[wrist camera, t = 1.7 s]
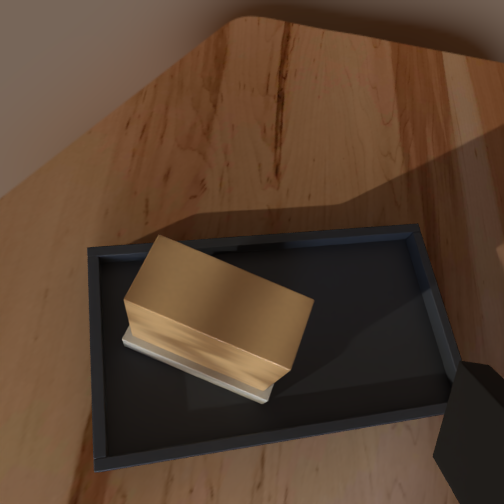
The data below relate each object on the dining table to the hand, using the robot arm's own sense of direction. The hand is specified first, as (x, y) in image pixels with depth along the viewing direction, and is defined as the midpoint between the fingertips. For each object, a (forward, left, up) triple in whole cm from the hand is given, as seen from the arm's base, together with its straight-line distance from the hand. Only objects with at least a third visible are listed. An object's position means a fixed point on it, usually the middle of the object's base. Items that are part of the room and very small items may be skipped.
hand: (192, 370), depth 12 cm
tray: (-6, +9, -25) cm, 27 cm away
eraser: (-6, +3, -24) cm, 25 cm away
